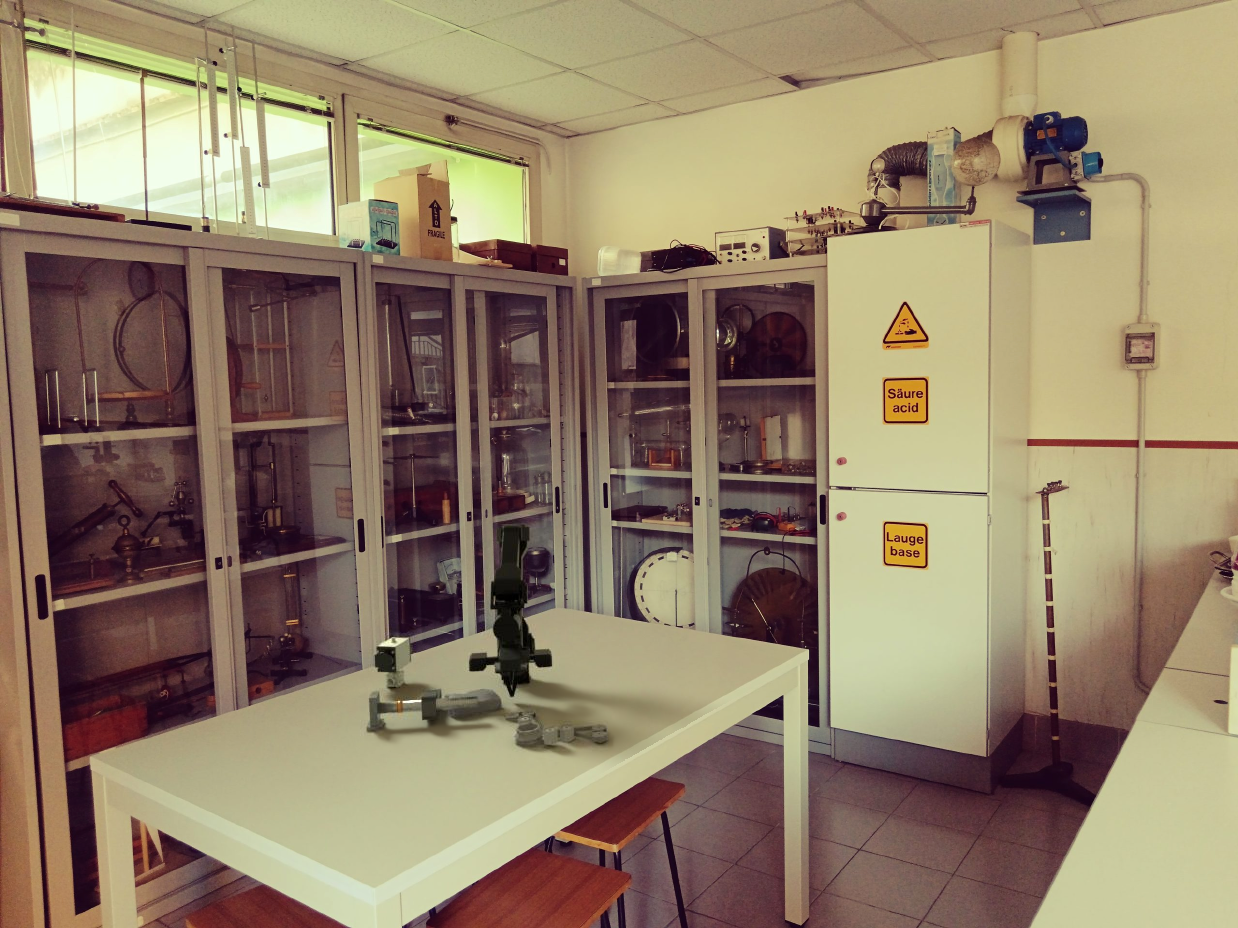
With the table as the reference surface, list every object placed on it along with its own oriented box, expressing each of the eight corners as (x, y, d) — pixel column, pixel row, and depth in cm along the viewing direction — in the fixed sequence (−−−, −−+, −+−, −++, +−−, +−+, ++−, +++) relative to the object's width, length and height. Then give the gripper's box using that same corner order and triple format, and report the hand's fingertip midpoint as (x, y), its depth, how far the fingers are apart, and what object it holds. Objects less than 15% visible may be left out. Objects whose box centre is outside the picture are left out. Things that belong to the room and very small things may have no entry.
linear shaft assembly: (478, 715, 199) (477, 684, 198) (477, 723, 194) (476, 692, 193) (370, 722, 196) (368, 691, 195) (366, 731, 191) (365, 698, 190)
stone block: (440, 714, 205) (451, 719, 197) (439, 693, 206) (450, 697, 197) (490, 707, 211) (504, 712, 202) (489, 686, 211) (502, 690, 202)
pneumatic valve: (414, 678, 226) (412, 631, 226) (393, 693, 215) (391, 644, 214) (393, 677, 228) (391, 630, 227) (372, 692, 216) (370, 643, 215)
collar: (441, 699, 207) (440, 676, 206) (436, 721, 193) (435, 697, 192) (428, 700, 207) (427, 677, 206) (422, 722, 192) (421, 698, 192)
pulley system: (572, 766, 173) (619, 737, 184) (570, 742, 172) (617, 715, 184) (472, 741, 189) (521, 716, 201) (470, 720, 189) (519, 695, 200)
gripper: (466, 641, 197) (469, 711, 198) (552, 636, 199) (554, 705, 200) (469, 628, 208) (471, 694, 209) (550, 624, 210) (552, 689, 211)
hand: (512, 696), depth 207 cm, fingers closed
